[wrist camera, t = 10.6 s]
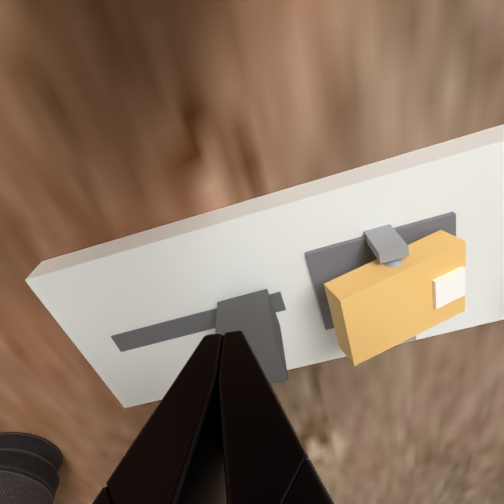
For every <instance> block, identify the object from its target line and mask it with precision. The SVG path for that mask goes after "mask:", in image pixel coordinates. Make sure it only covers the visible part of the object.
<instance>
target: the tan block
mask: <svg viewBox="0 0 504 504" xmlns="http://www.w3.org/2000/svg"><path fill="white" fill-rule="evenodd" d="M408 246H409V257H405V258H401V259H397V260H393V261H390V262H386V263H382V264H380V262H379V261H378V259H376V260H374V261H372V262H370V263H368V264H365V265H363V266H361V267H359V268H357V269H355V270H353V271H350V272H348V273H346V274H344V275H342V276H340V277H337V278H335V279H333V280H331V281H329V282H327V283H324V287H325V291H326V295H327V299H328V303H329V307H330V311H331V316H332V320H333V324H334V328H335V332H336V336H337V340H338V344H339V347H340V348H341V350H342V351H343V352H344V353H345V355H346V356H347V357H348V359H349V360H350V361H351V362H352V364H353V365H354V366H356V365H358V364H360V363H362V362H364V361H366V360H368V359H370V358H372V357H374V356H376V355H378V354H380V353H382V352H384V351H386V350H388V349H390V348H392V347H394V346H396V345H398V344H400V343H402V342H404V341H406V340H408V339H410V338H412V337H414V336H416V335H418V334H420V333H422V332H424V331H426V330H428V329H430V328H432V327H433V326H435V325H437V324H439V323H441V322H443V321H445V320H447V319H449V318H451V317H453V316H455V315H457V314H459V313H461V312H463V311H465V266H466V241H464V240H462V239H460V238H458V237H455V236H453V235H451V234H449V233H447V232H445V231H443V230H439V231H437V232H435V233H433V234H430V235H428V236H426V237H424V238H422V239H420V240H417V241H415V242H413V243H411V244H409V245H408Z"/></svg>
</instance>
